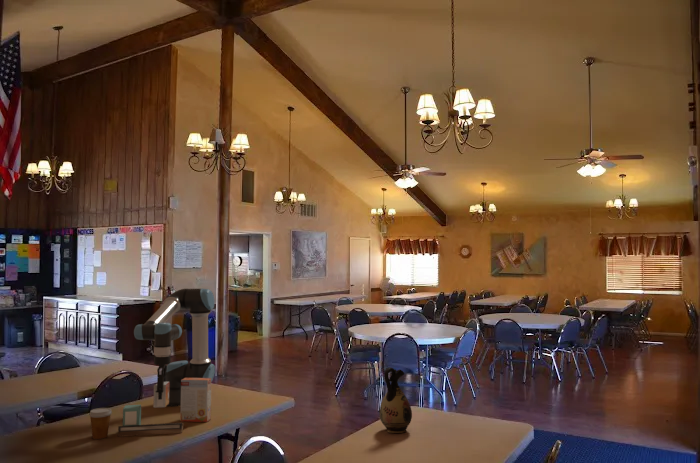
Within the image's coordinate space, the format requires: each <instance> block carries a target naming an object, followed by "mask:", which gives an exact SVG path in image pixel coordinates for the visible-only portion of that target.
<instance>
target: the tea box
mask: <svg viewBox="0 0 700 463" xmlns="http://www.w3.org/2000/svg"><path fill="white" fill-rule="evenodd" d="M132 425H142V404H129V405H128V404H125V405H124V406H123V409H122V426H132Z"/></svg>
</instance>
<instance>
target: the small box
mask: <svg viewBox="0 0 700 463" xmlns="http://www.w3.org/2000/svg"><path fill="white" fill-rule="evenodd" d="M156 391H157V382H156V383H155V384H153V408H166V407H168V406H167V405H168V404H169V382H164V385H163V392H164V395H163V406H157V393H156Z"/></svg>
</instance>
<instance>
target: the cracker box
mask: <svg viewBox="0 0 700 463" xmlns="http://www.w3.org/2000/svg"><path fill="white" fill-rule="evenodd" d="M211 418H212V382H211V378H184V379H182V380H181V406H180V418H179V420H180V422H187V423H188V422H190V423H191V422H197V423H207V422H209V421H210V420H211Z"/></svg>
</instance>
